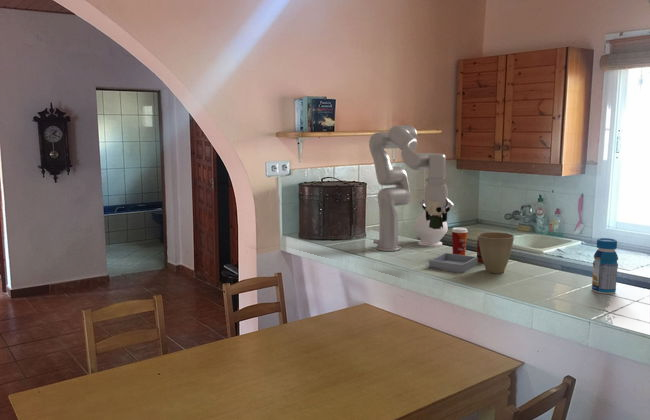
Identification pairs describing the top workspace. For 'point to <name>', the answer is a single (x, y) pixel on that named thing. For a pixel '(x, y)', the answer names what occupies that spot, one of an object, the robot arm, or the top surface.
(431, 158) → the robot arm
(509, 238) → the plant pot
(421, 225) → the decorative vase
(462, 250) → the paper cup
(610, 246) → the beverage bottle
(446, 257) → the grey bin
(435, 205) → the character mug
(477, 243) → the canned food
